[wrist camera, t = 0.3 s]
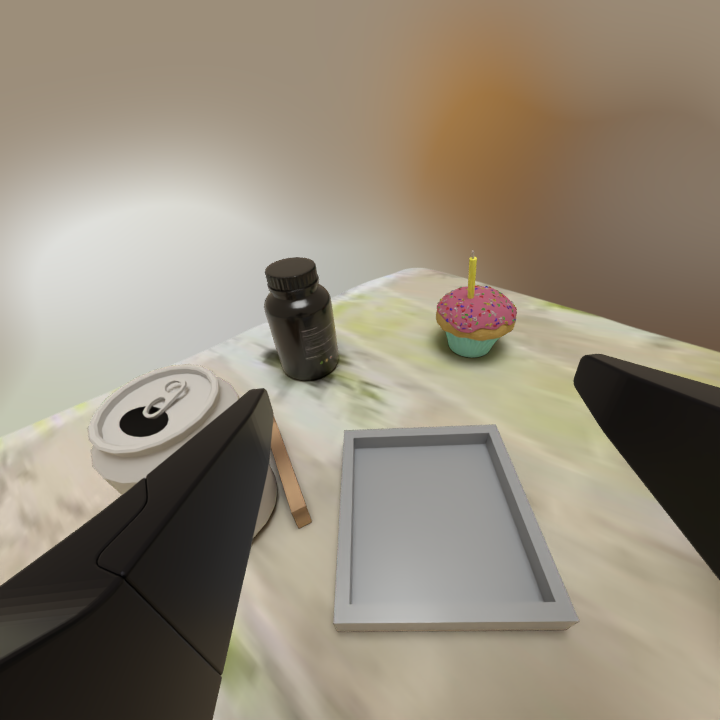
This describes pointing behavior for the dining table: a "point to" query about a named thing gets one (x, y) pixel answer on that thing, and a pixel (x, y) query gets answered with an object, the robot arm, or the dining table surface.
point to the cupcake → (475, 316)
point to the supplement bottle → (301, 319)
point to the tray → (440, 537)
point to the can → (160, 425)
